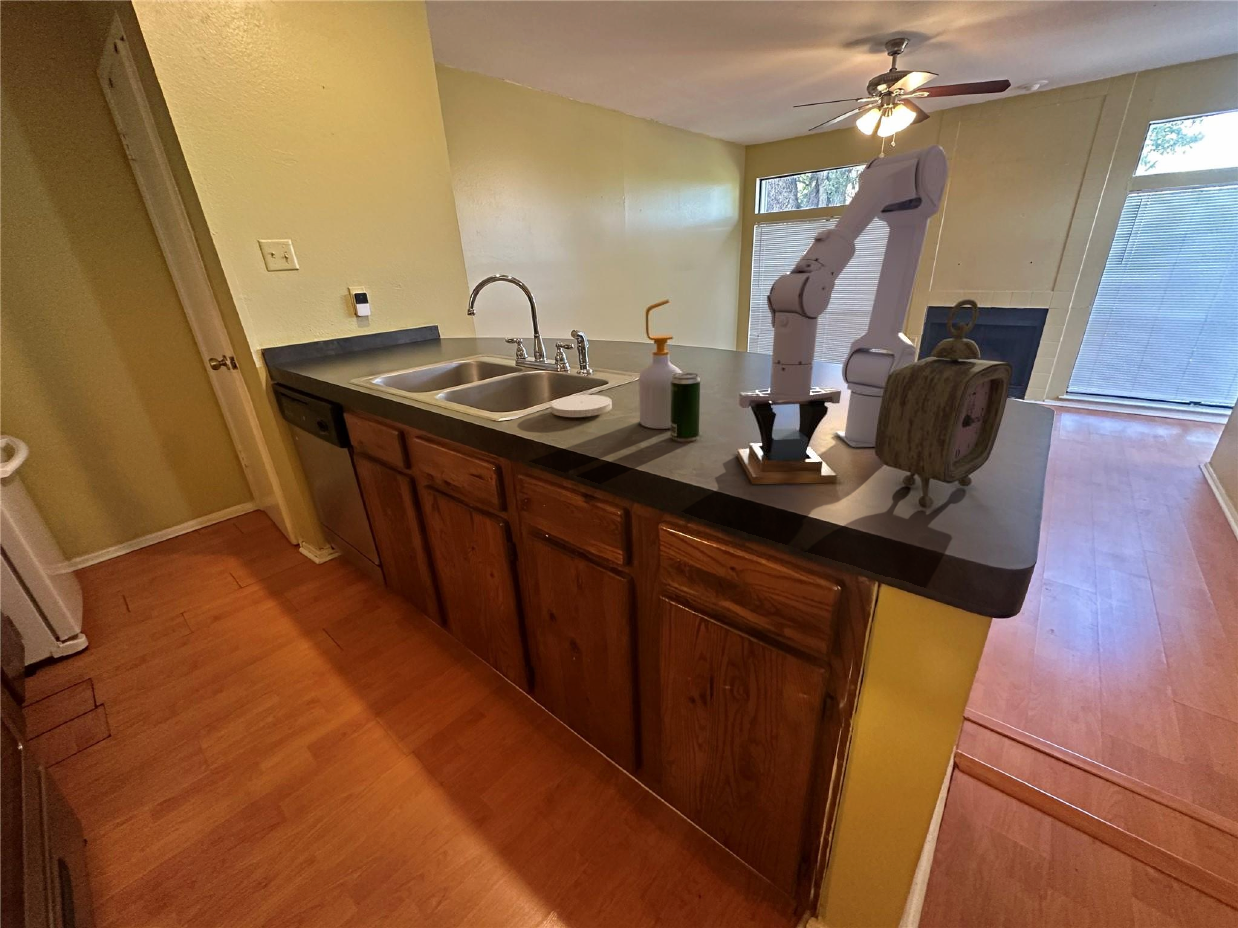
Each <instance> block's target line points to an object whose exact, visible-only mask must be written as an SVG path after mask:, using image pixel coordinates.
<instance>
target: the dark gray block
mask: <svg viewBox="0 0 1238 928" xmlns="http://www.w3.org/2000/svg"><path fill="white" fill-rule="evenodd" d="M807 444H808V438H807V437H806V436H805V435H803V434H802V433H801V432H800V431H799V429H797V428H796V427H795V428H776V429H774V428H773V431H772V446H771V452H770V453H766V452H765V451H764V450H763V453H764V455H765V456H766V457H767V459H768V460H794V459H806V453H807Z"/></svg>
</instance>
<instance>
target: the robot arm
mask: <svg viewBox="0 0 1238 928" xmlns="http://www.w3.org/2000/svg"><path fill="white" fill-rule="evenodd" d="M949 170H950V168H949V163H948V159H947V155H946V151H944V149H943V147H942V146H941V145H940V144H931V145H929V146H927V147H923V148H919V149H914V150H910V151H906V152H901V153H897V154H892V155H889V156H885V157H884V156H883V157H874V158H872V159H871V160H868V162H867V163H866V165H864V168H863V170H862V171H860V173H859V174H858V178H857V191H856V192H855V194H853V197H852V198H851V200H850V202H849V203H848V204H847V206H846V208H845V209H844V211H843V212H842V213H841V216H840V217H839V219H838V220H837V221H836V224H835V225H834V226H833V227H830V228H825V229H823V230H821V231H818V232H817V233H816V234H815V236H814V237H813V241H812V243H811V244H810V245H809V246H808V247H807V249H806V251H805V252H804V253H803V255H802V256H801V257H800V259H799V260H797V262H796V263H795V265H794V266H793V268H792V269H791V270H790V271H789V273H784V274H781V275H780V276H779V277H778V278H777V279H776V280H775V281H774V282H773V283H772V284H771V287H770V289H769V294H767V295H766V305H767V308H768V310H769V312H770V316H771V319H770V320H771V321H770V324H771V325H772V326H771V327H772V328H773V343H772V352H771V353H772V355H771V369H770V382H769V388H765V389H757V390H752V391H741V392H739V394H738V396H739V397H738V405H739V406H740V408H742V409H748V408H750V409H751V411H752V414H753V416H754V419H755V421H756V424H757V427H758V430H759V434H760V440H761V443H762V449H763V450H764V451H765V452H766V453H770V452H771V446H772V431H773V429H774V426H775V420H776V417H777V412H775V411H774V407H772V406H786V405H798V409H799V411H798V412H799V427H798V431H800V432H801V433H802V434H803V435H805V436H806V437H807V438H808V444H807V449H808V447H810V442H811V440H812V438H813V436H814V434H815V432H816V430H817V428H818V426H819V425H820V424H821V422H822V421H823V419H824V418H825V417H826V416H827V414H828V412H829V407H828V406H827V405H826V404H827V403H828V404H830V403H831V404H835V405H836V404H840V402H841V396H842V390H840V389H839V388H836V387H812V381H813V372H814V360H815V353H816V352H815V351H816V344H817V343H816V342H817V334H818V325H819V324H818V323H819V317H820V316H821V315H822V314H823V313H824V312H825V311H826V310H827V309H828V307H829V305H830V302H831V299H832V294H833V291H834V289H835V286H836V281H837V280H838V278H839V276H840V275H841V274H842V273H843V271H844V270H845V268H846V267H848V264H849V263H850V262H851V260H852V259H853V258H854V256H855V254H856V249H857V248H856V243H855V242H856V241H857V239H858V238H859V237H860V236H861V235H862V233H864V231H865V230H866V229H867V228H868V227H869V226H870V225H871V223H872V222H873V221H874V220H875V219H876V218H877V220H879V221H881V222H884V223H886V225H887V227H888V229H889V231H888V236H887V240H886V245H885V249H884V254H883V258H882V263H881V268H880V273H879V276H878V281H877V285H876V290H875V293H874V299H873V302H872V303H873V304H872V307H871V313H870V317H869V322H868V326H867V331H866V332H864V333H863V334H861V335H860V336H858V337H857V338H856V339H854V340H853V341H851V343H850V348H849V351H848V354H847V356H846V357H845V359H844V361H843V363H842V367H841V377H842V380H843V382H844V383H845V384H846V385H847V386H846V390H848V391H850V393H849V401H848V408H847V414H846V415H847V416H846V422H845V428H844V429H845V430H836V431H835V434H836V436H838V437H839V438H841V439H842V440H843V441H844V442H846V444H848V445H849V446H850V447H852V448H875V439H876V431H877V424H878V417H879V411H880V406H881V401H882V396H883V392H884V388H885V384H886V381H887V378H888V376H889V375H890V374H891V373H892V372H893V371H894V370H896V369H898V368H900V367H903V366H906V365H908V364H911V363H914V362H916V354H917V347H916V345H914V343H912V342H911V341H910V340H909V339H908V337H906V335H904V333H903V331H904V327H905V323H906V319H907V315H908V311H909V307H910V303H911V299H912V295H913V290H914V287H915V282H916V278H917V275H918V269H919V266H920V261H921V258H922V254H923V249H924V246H925V241H926V238H927V237H926V236H927V232H928V229H929V225H930V221H931V218H932V217H933V216H935V215H937V214H938V213H939V210H940V206H941V202H942V200H943V196H944V191H945V188H946V184H947V180H948V176H949ZM872 350H882V351H889V352H891V353H889V352H880V351H872Z"/></svg>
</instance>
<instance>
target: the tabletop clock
mask: <svg viewBox="0 0 1238 928" xmlns="http://www.w3.org/2000/svg"><path fill="white" fill-rule="evenodd" d="M964 306H970V307H971V309H972V318H971V322H970V323H969V324H968V325H966V323H962V322H960V323H958V324H956V326H955V329H954V328H953V327H952V325H953V324H952V323H953V319H954V317H955V316H956V313H957V312H958V311H959V310H960V309H961V308H962V307H964ZM978 315H979V305H978V303H977V302H976V300H975V299H972V298H965V299H962V300H960V301H958V302H957V303H956V304H955V305H954V306H953V307H952V309H951V311H950V312H949V315H948V316H947V321H946V331H947V333H948V334H949V335H950V336H951V337H953V338H946V339H943V340H942V341H941V342H939V343H938V344H937V345H936V346H935V347H934V349H933V350H932V352H931V353H930V355H929V357H925V358H923V359H919V360H917V361H915V362H914V363H911V364H908V365H906V366H903V367H900V368H898V369H896V370H894V371H893V372H892V373H891V374H890V375H889V376H888V378H887V381H886V384H885V388H884V392H883V396H882V401H881V406H880V411H879V417H878V424H877V431H876V439H875V447H874V454H875V456H876V458H877V459H878V460H879V461H880V462H881V463H882V464H883V465H884V466H886V467H889V468H893V469H895V470H899V471H903V472H906V473H910V474H907V475H905V476H904V477H903V478H902V483H903V485H904V486H906V487H912V486H914V485H916V483H917V478H916V477H915V476H916V475H917V477H918V478H919V480H920V482H921V488H922V490H921V491H922V495H921V496H920V497H919V498H918V501H917V502H918V505H919V506H920V507H921V508H923V509H930V508H931V507H932V506H933V505H934V500H933V497H931V496H930V495H929V490H930V481H931V480H934V481H937V482H940V483H944V484H948V485H949V484H953V483H955V482H957V483H958V485H959V486H961V487H968V486H971V484H972V483H973V479H972V477H971V476H970V475H972V474H973V473H975V472H976V471H978V470H979V469H981V468H982V467H983V466H984V465H985V463H986V462H987V461H988V460H989V459H990V456H991V454H992V451H993V449H994V446H995V442H996V440H997V437H998V435H999V431H1000V427H1001V423H1002V420H1003V417H1004V414H1005V409H1006V405H1007V400H1008V397H1009V392H1010V386H1011V381H1012V378H1013V377H1012V375H1013V365H1012V364H1011V363H1010V362H1004V361H995V360H986V359H985V360H984V359H980V358H981V353H980V348H979V346H978V345H977V344H976V342H975V341H973V340H972V339H968V338H965V335H966V334H968V333H970V332H971V330H973V328H974V327H975V324H976V322H977V319H978Z"/></svg>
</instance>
